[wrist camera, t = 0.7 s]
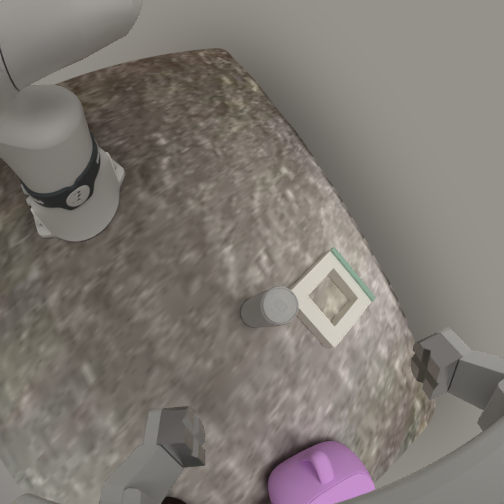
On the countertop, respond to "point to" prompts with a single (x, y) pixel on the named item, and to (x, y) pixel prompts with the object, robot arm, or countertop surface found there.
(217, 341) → the countertop surface
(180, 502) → the coffee mug
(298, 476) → the teapot
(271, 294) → the beverage can
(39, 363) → the countertop surface
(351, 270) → the socket block
